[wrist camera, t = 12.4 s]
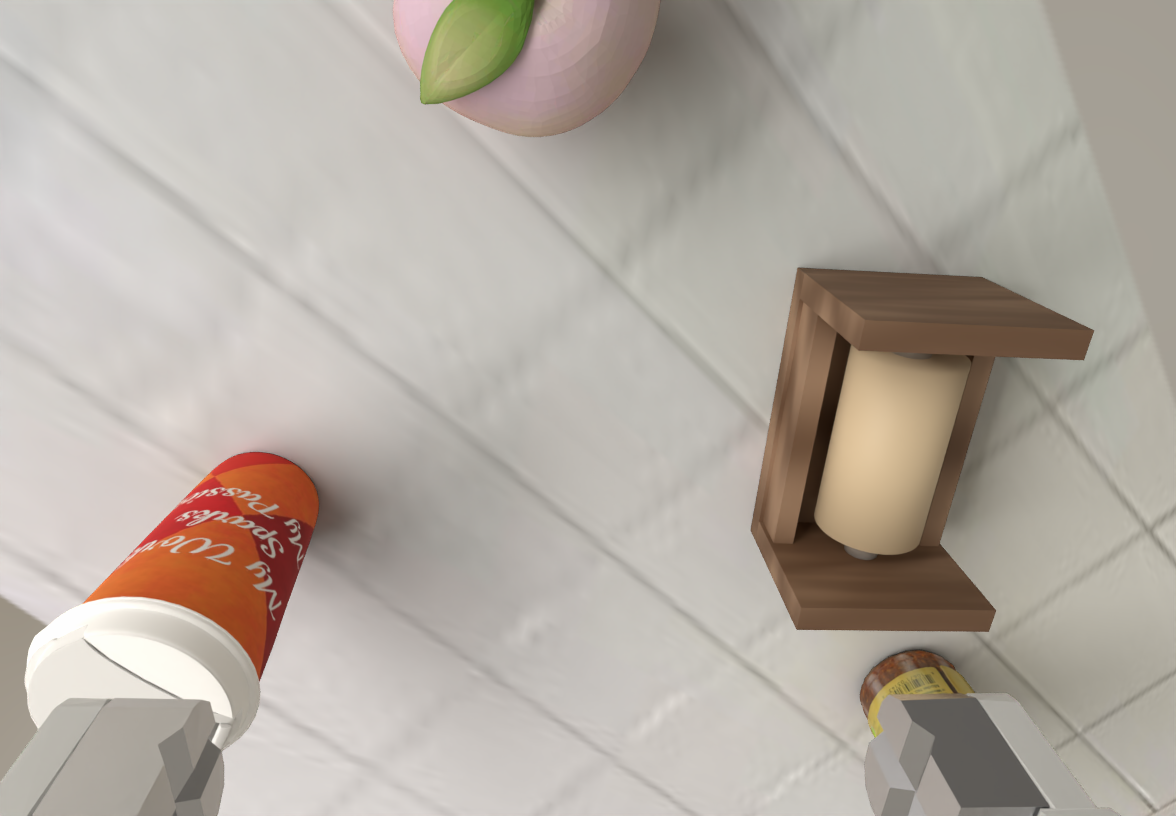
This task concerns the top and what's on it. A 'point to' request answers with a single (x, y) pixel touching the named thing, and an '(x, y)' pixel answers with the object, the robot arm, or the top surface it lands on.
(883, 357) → the roll
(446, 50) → the decorative fruit
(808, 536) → the holder
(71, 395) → the top surface
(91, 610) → the paper cup
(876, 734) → the sauce bottle
